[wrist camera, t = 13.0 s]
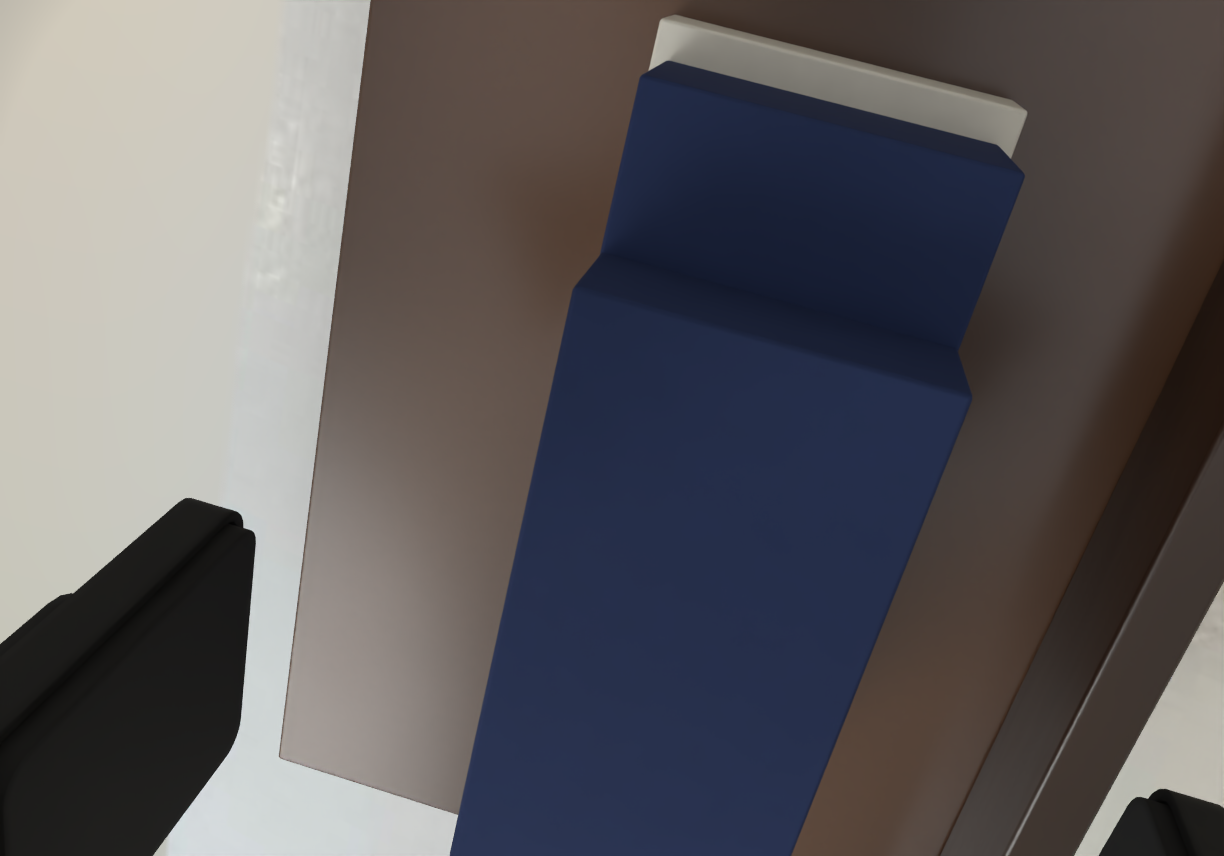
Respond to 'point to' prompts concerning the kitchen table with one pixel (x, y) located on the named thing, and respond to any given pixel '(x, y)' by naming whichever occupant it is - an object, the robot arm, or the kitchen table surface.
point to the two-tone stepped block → (735, 448)
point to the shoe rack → (974, 475)
